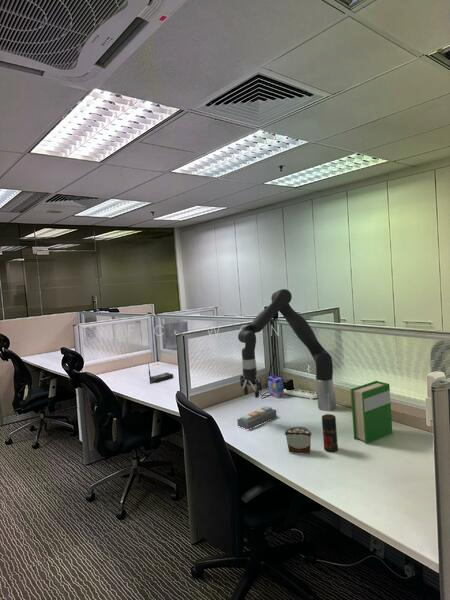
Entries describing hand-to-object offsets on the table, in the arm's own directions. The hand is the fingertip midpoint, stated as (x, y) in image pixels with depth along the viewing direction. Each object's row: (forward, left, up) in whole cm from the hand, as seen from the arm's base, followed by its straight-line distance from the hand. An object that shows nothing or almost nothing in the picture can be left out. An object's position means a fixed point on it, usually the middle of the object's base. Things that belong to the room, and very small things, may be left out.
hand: (251, 395), depth 210 cm
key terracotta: (-1, +1, -12) cm, 12 cm away
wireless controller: (+124, -16, -16) cm, 126 cm away
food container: (-40, +10, -15) cm, 44 cm away
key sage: (-1, +6, -12) cm, 14 cm away
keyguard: (-1, -2, -15) cm, 15 cm away
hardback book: (-58, -22, -15) cm, 63 cm away
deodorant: (-50, +1, -15) cm, 52 cm away
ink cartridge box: (+18, -40, -15) cm, 46 cm away
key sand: (-1, -4, -12) cm, 13 cm away
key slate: (-1, -10, -12) cm, 16 cm away
